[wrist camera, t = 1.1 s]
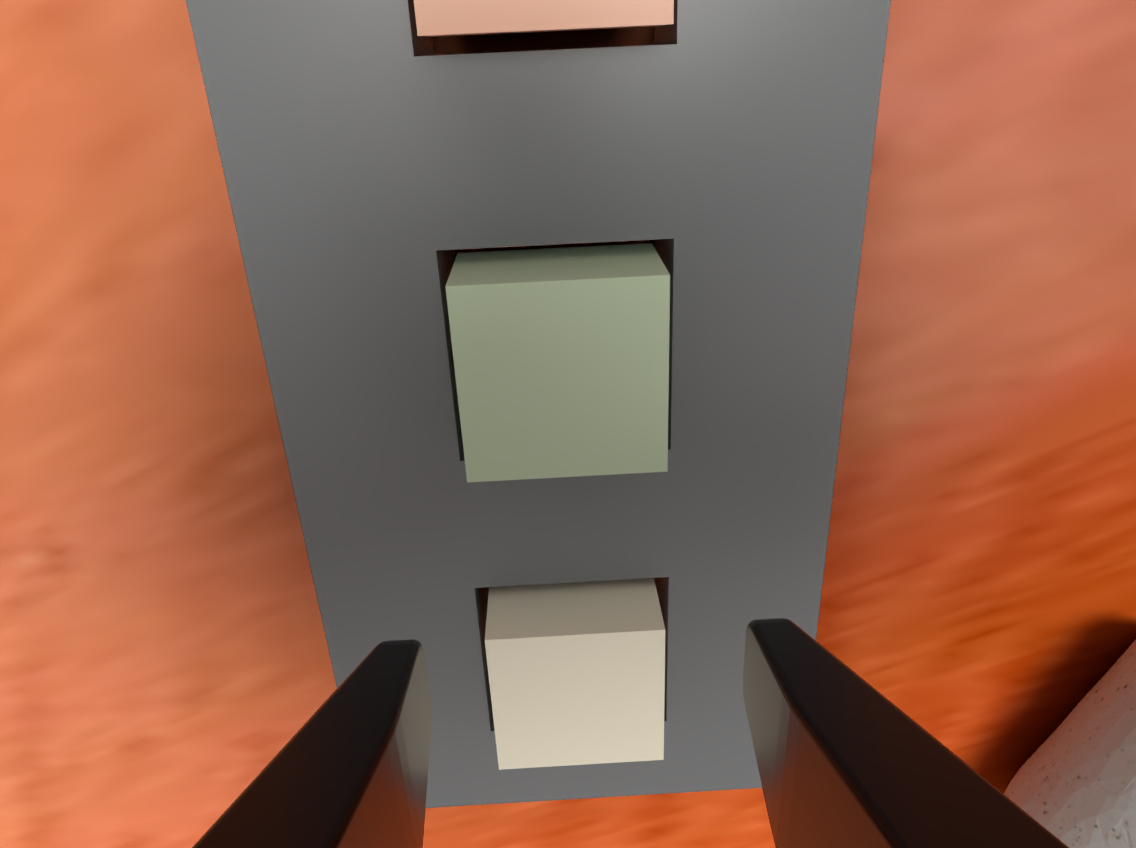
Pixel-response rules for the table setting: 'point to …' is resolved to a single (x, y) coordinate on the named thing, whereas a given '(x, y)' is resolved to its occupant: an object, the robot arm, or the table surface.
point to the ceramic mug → (1088, 767)
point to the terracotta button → (536, 15)
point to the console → (548, 217)
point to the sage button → (561, 361)
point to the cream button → (576, 673)
